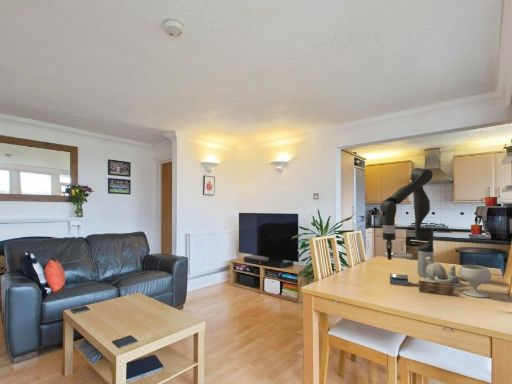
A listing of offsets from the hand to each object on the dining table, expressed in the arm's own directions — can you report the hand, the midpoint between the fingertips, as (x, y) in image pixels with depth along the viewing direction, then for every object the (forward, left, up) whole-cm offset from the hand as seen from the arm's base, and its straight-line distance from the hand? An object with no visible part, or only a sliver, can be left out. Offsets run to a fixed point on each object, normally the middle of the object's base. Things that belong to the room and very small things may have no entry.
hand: (389, 258), depth 177 cm
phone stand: (+2, +53, -15) cm, 55 cm away
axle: (+3, +4, +3) cm, 6 cm away
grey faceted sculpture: (+4, +32, -15) cm, 35 cm away
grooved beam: (+21, +15, -15) cm, 30 cm away
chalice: (+26, +34, -15) cm, 45 cm away
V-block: (+2, +4, -15) cm, 16 cm away
